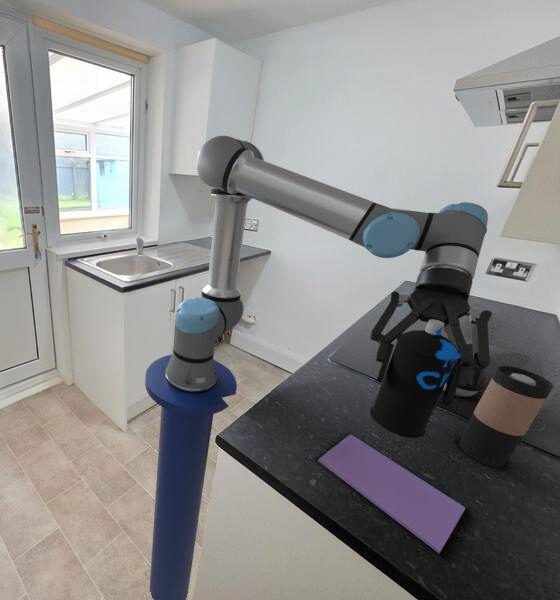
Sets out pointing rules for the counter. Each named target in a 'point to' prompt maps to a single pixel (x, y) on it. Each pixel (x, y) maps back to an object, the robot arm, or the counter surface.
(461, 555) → the counter surface
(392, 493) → the towel
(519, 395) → the travel mug
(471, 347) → the black egg-shaped dome
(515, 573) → the counter surface
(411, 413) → the aerosol can
